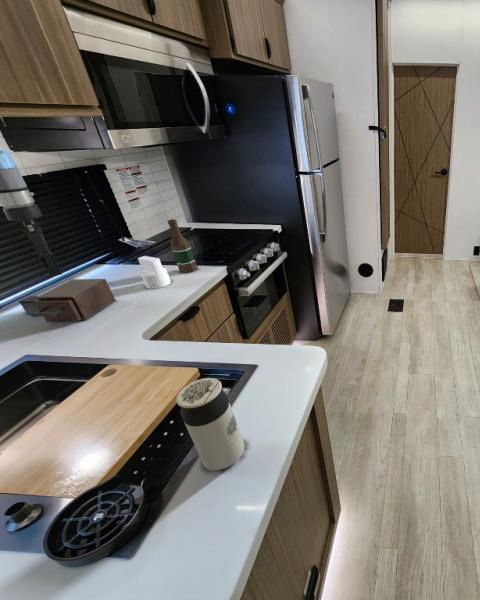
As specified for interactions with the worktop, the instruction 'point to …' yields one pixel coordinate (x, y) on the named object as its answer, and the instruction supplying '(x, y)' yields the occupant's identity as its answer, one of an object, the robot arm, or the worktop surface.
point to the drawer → (57, 310)
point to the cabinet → (83, 295)
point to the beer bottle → (181, 249)
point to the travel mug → (211, 423)
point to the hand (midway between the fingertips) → (54, 269)
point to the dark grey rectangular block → (29, 304)
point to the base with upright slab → (153, 272)
